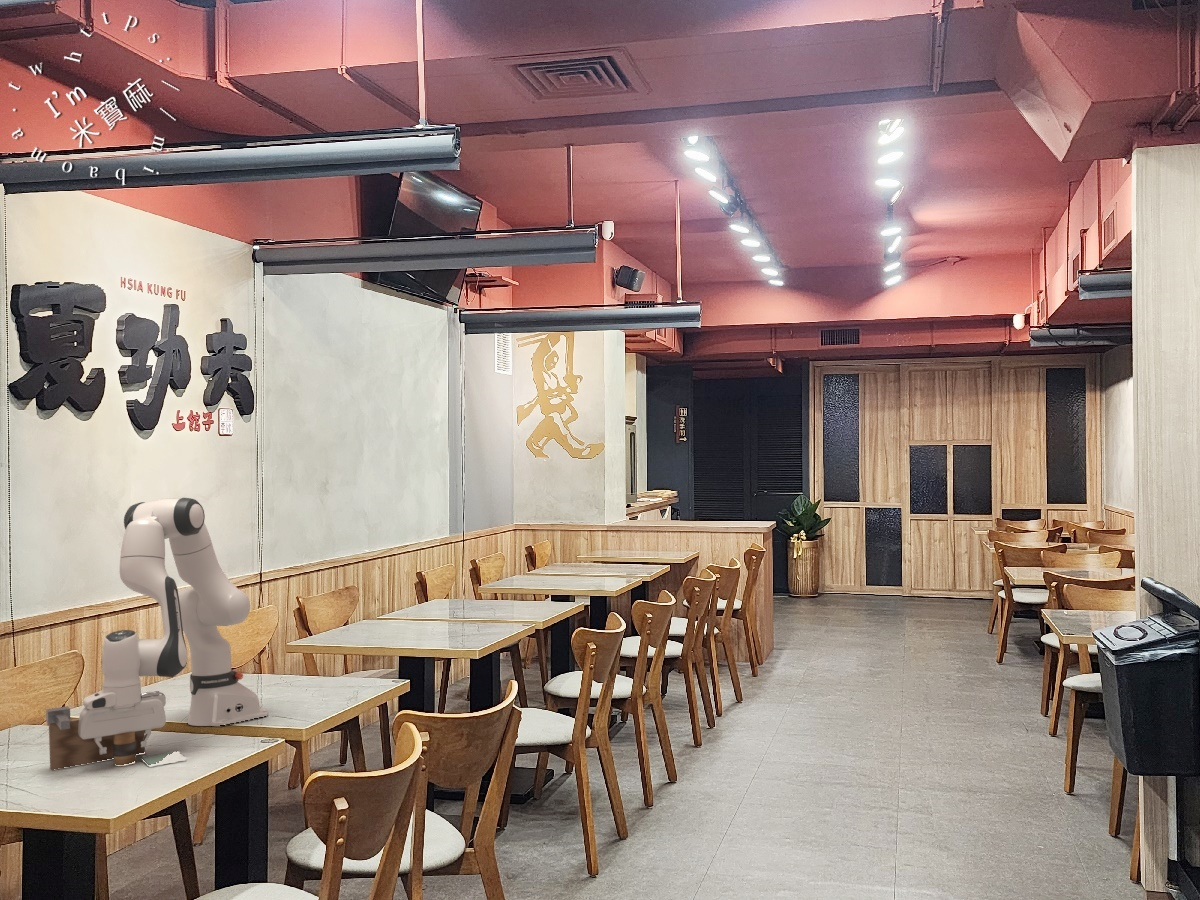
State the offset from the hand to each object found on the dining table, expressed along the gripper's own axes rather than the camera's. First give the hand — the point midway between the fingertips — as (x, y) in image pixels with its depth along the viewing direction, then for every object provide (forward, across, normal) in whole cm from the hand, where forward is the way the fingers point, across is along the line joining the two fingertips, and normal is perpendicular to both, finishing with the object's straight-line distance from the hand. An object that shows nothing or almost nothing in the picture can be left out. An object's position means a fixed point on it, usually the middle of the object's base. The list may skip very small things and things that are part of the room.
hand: (123, 750), depth 268 cm
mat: (+3, -9, +4) cm, 10 cm away
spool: (+3, 0, 0) cm, 3 cm away
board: (+3, +5, -7) cm, 9 cm away
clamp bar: (-8, +14, -2) cm, 16 cm away
